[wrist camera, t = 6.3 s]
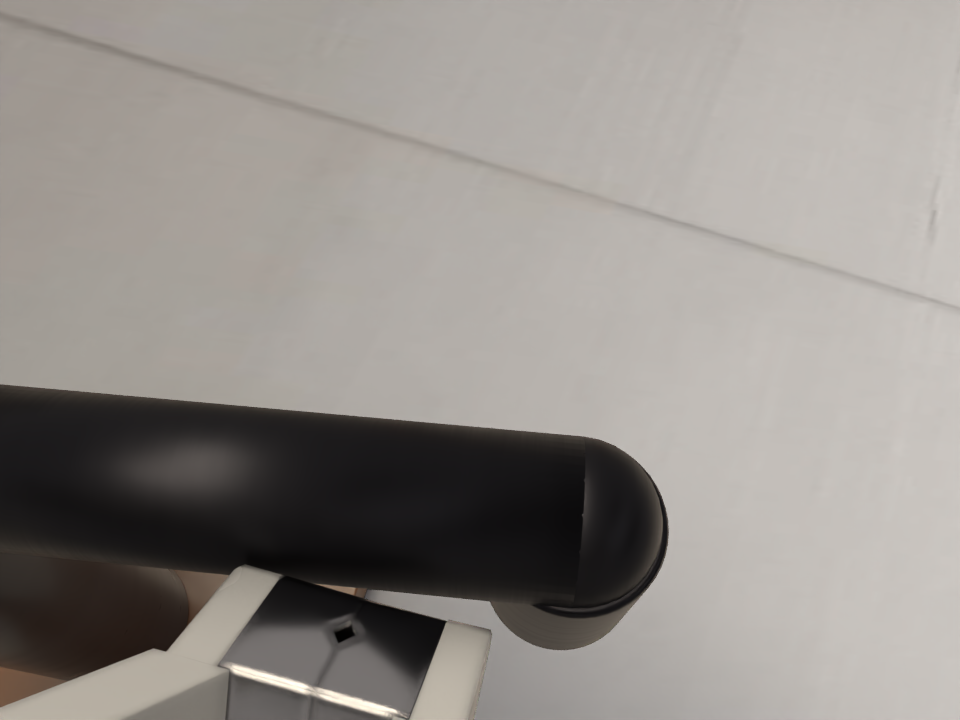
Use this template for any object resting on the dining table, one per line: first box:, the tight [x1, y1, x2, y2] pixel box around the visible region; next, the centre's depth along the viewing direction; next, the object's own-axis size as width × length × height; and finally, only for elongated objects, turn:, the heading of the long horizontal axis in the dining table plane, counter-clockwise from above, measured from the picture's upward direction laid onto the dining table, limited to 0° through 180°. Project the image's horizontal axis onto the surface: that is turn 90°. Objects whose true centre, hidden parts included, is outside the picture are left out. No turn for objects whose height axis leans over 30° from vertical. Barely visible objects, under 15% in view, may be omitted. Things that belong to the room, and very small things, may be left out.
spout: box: [0, 385, 669, 650], centre depth 11 cm, size 14×3×4 cm, turn 84°
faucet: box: [0, 552, 367, 707], centre depth 19 cm, size 12×10×14 cm
